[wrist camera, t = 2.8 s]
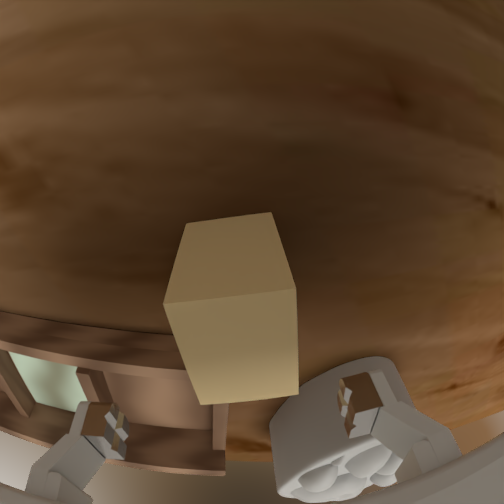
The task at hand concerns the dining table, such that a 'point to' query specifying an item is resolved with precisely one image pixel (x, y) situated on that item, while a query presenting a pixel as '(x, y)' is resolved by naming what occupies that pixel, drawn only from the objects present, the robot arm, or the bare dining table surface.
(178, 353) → the brown divided tray
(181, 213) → the dining table surface
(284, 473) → the lumpy-topped squat cylinder
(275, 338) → the frame block
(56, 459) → the robot arm
